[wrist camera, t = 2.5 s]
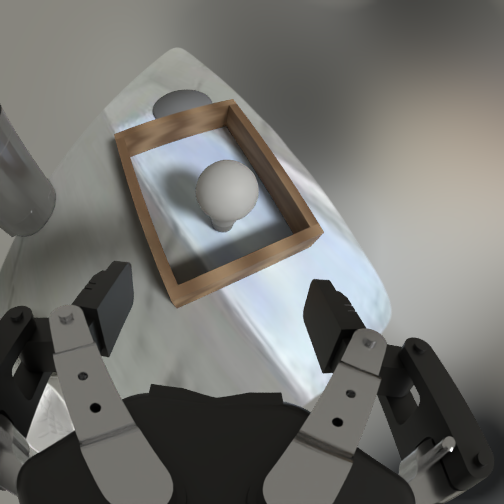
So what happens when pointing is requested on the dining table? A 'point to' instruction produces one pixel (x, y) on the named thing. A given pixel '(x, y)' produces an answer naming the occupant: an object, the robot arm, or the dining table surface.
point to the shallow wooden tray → (266, 169)
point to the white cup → (50, 418)
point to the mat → (179, 102)
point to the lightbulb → (226, 193)
